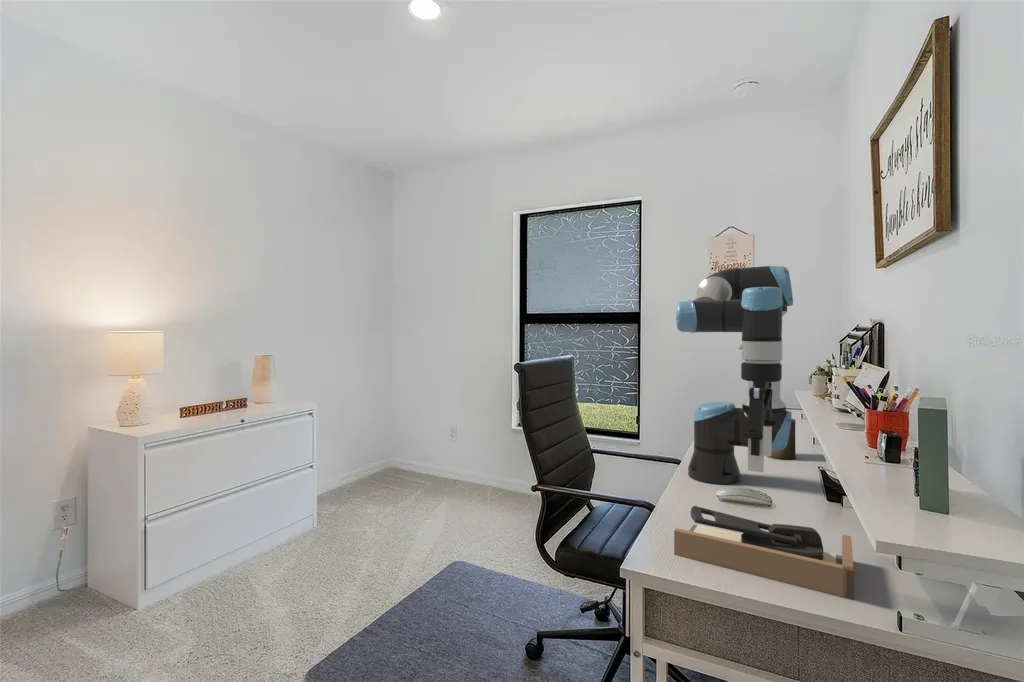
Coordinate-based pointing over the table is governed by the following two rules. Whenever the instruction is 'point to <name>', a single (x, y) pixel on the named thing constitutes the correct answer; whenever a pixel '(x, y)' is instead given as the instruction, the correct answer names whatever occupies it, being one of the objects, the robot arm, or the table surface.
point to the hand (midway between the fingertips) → (760, 462)
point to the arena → (769, 560)
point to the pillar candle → (789, 450)
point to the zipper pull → (766, 533)
